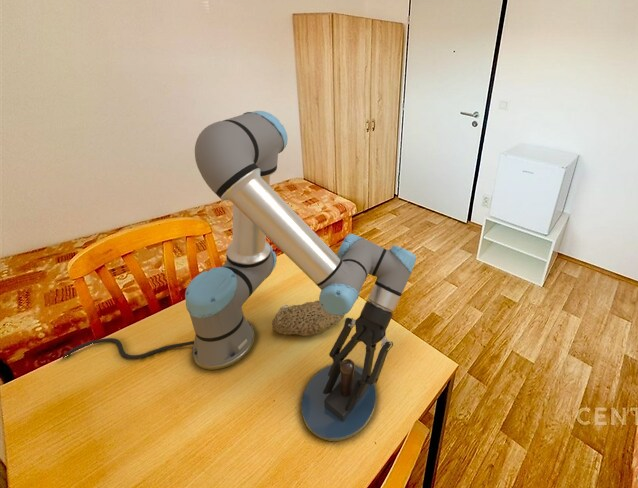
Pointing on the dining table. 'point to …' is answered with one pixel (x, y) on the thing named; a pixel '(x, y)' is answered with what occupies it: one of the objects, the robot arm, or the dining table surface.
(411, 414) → the dining table surface
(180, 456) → the dining table surface
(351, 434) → the plate
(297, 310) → the sponge
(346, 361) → the stamp
